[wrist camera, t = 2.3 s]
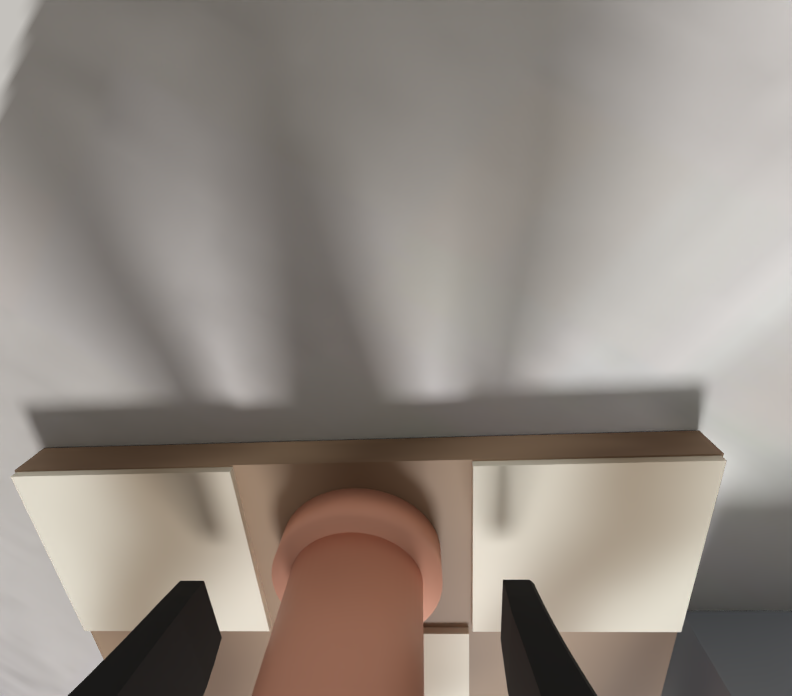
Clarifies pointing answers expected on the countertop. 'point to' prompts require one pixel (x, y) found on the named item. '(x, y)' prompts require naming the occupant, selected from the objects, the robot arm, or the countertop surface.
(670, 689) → the die
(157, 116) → the countertop surface
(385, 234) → the countertop surface
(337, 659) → the pawn
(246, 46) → the countertop surface
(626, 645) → the board
